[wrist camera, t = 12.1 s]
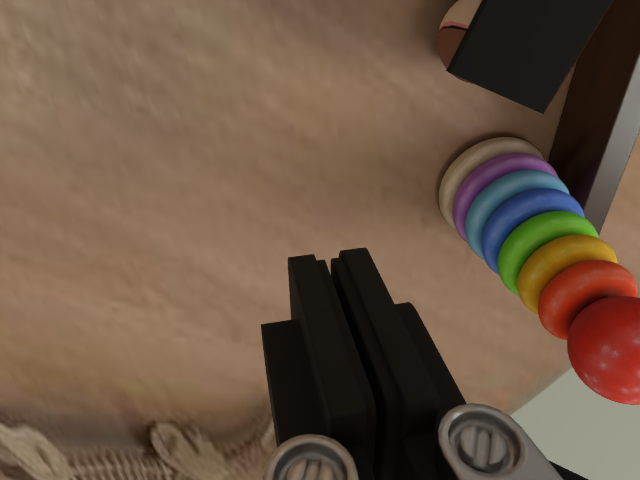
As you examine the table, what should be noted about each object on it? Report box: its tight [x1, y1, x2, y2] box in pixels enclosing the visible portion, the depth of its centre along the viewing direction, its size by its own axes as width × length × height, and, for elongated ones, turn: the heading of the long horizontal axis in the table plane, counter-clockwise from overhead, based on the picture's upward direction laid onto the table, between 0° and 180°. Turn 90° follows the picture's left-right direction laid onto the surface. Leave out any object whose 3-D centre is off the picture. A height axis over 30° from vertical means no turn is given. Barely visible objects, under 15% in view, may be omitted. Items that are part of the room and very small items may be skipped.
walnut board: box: [548, 0, 640, 236], centre depth 32 cm, size 2×26×5 cm, turn 0°
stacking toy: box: [439, 137, 640, 405], centre depth 29 cm, size 8×8×19 cm
